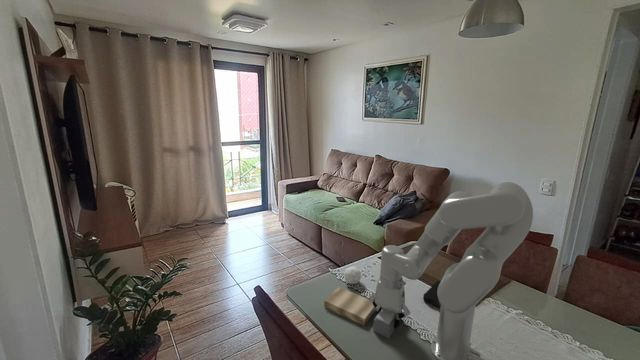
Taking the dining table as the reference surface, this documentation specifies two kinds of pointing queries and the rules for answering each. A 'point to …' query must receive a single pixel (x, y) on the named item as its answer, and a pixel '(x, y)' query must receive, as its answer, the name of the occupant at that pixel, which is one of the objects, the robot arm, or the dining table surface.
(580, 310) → the dining table surface
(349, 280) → the geometric ball
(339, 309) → the oak stand
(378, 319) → the grey rectangular block
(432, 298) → the black sponge
